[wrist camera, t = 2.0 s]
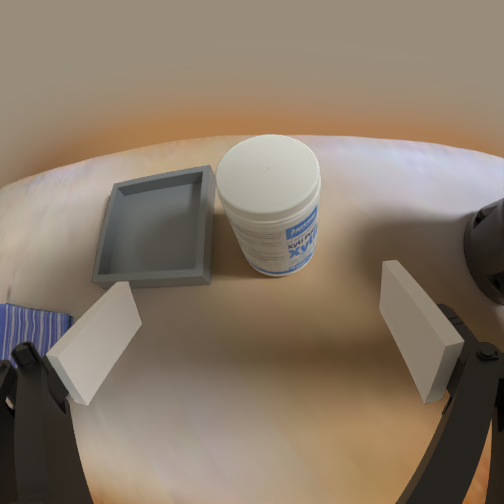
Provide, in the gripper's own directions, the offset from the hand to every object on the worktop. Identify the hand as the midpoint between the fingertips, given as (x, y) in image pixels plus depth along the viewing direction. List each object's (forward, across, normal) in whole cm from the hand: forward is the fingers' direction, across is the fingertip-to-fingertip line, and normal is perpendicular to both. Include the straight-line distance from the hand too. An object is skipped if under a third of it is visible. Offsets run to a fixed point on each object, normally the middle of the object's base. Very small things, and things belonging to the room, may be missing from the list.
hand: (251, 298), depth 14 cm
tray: (+26, -17, -3) cm, 31 cm away
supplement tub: (+23, +1, -5) cm, 24 cm away
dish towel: (+12, -43, -18) cm, 48 cm away
